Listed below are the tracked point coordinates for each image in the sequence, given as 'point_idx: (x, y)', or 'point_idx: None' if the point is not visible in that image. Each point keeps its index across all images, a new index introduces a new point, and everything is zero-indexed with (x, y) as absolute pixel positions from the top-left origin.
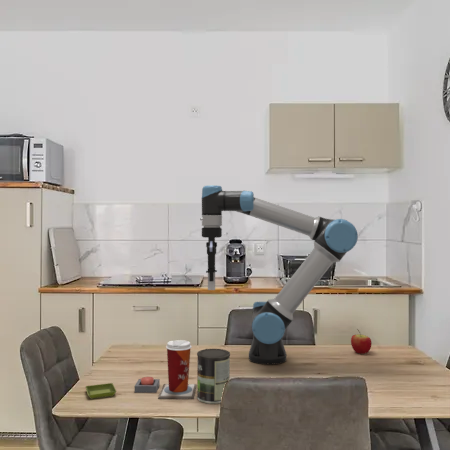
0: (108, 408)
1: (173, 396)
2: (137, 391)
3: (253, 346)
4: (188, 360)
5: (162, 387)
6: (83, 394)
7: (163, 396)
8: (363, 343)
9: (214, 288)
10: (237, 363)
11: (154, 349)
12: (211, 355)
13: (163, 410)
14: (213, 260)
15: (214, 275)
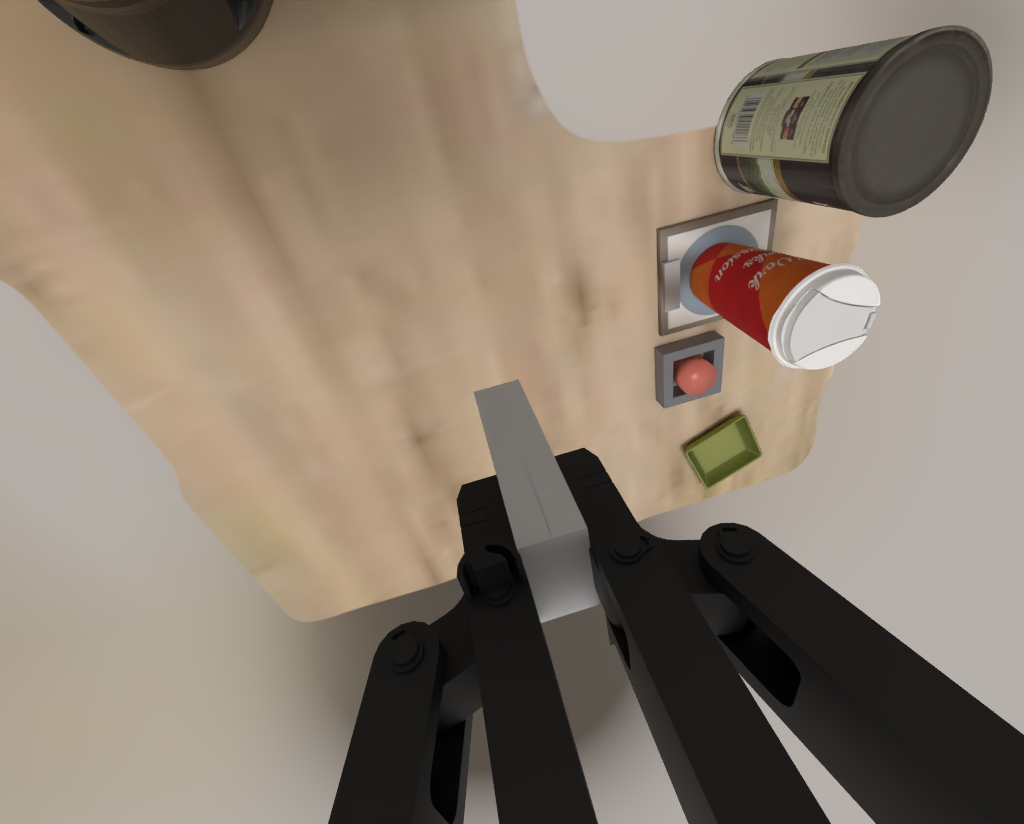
0: (806, 387)
1: None
2: None
3: (205, 5)
4: (805, 259)
5: (691, 327)
6: None
7: None
8: None
9: (524, 393)
10: (324, 124)
11: (289, 520)
12: (942, 132)
13: (840, 258)
14: (1013, 750)
15: (572, 499)
